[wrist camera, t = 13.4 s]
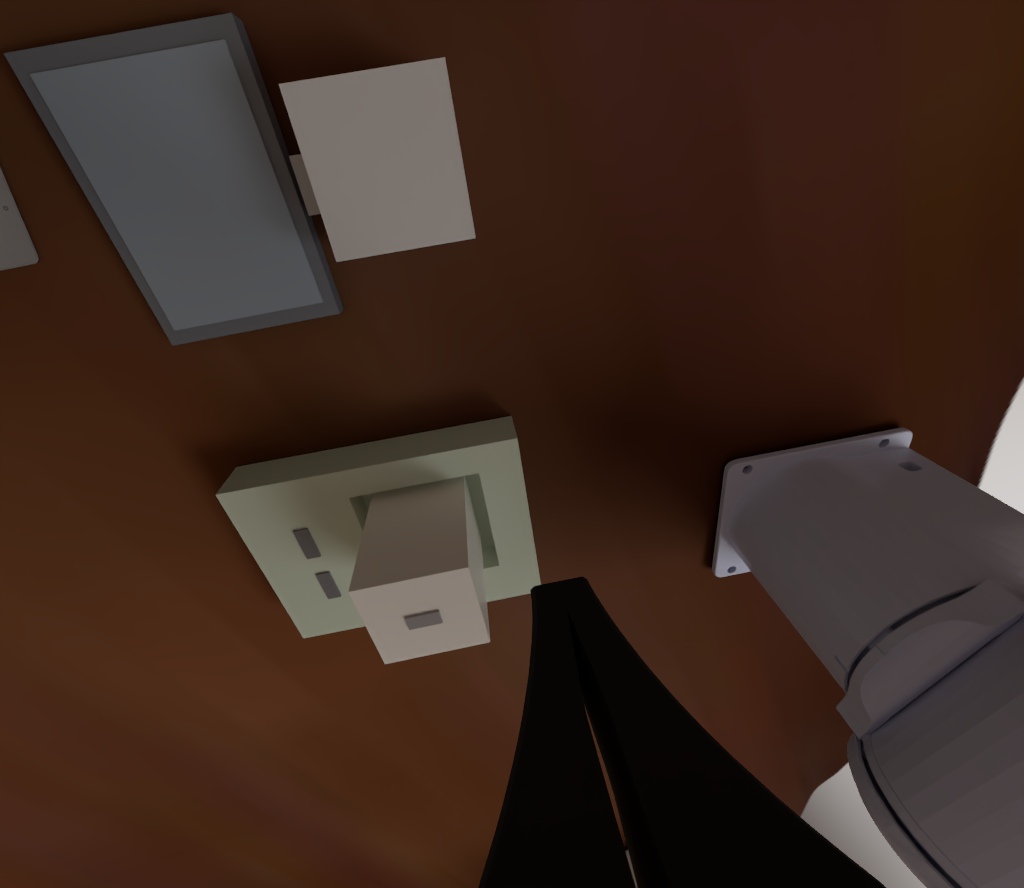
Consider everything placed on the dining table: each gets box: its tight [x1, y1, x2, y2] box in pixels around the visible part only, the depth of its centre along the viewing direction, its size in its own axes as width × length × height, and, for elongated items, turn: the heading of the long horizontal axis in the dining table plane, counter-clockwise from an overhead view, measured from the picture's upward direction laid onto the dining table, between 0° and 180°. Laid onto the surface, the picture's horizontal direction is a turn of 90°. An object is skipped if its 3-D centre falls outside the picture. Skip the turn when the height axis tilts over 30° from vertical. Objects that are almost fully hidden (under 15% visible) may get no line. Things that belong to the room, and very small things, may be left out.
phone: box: [3, 13, 344, 346], centre depth 14 cm, size 6×8×1 cm
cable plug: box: [279, 57, 476, 262], centre depth 13 cm, size 5×4×4 cm
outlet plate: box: [216, 416, 541, 638], centre depth 21 cm, size 12×9×2 cm
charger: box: [348, 476, 490, 664], centre depth 18 cm, size 4×4×6 cm
